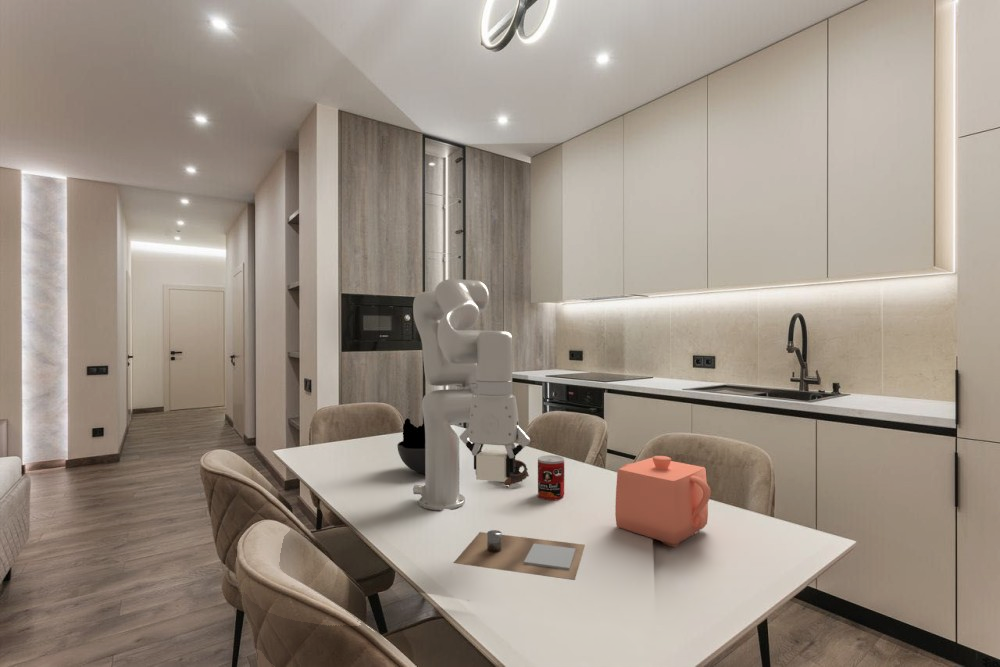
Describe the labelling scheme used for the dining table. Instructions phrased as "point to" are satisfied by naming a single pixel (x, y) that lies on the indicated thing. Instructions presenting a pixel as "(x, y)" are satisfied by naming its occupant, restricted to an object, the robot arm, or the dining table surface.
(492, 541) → the post
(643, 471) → the teapot
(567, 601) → the dining table surface
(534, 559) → the pad
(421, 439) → the coal bowl
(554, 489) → the canned food
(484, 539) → the base board
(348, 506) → the dining table surface
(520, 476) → the pottery mug
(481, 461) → the cream cube
